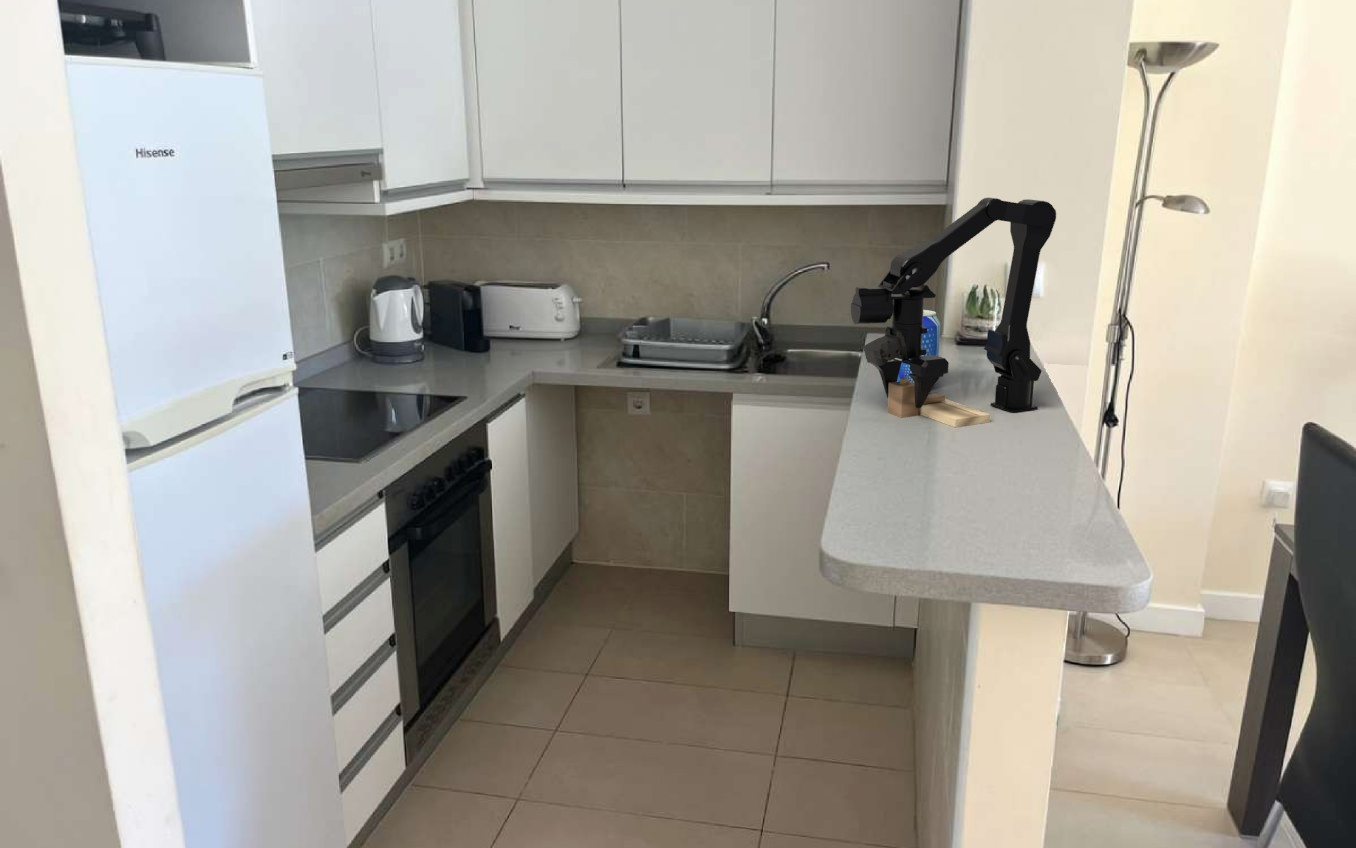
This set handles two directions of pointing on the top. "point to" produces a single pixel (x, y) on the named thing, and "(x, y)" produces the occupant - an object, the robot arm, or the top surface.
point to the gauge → (906, 399)
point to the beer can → (925, 342)
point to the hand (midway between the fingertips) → (903, 402)
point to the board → (953, 413)
